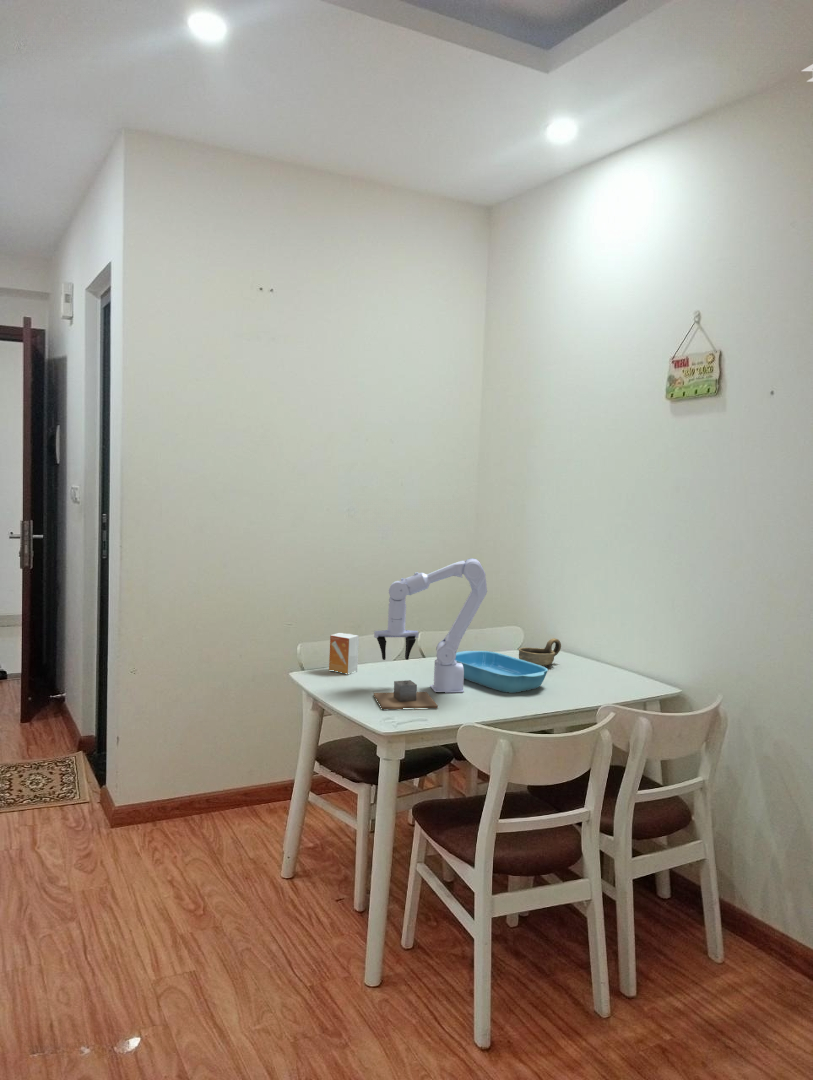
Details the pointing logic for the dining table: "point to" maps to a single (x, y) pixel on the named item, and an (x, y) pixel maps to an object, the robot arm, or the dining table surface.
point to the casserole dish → (500, 671)
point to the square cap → (405, 690)
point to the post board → (391, 703)
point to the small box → (343, 652)
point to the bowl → (541, 653)
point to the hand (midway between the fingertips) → (395, 659)
